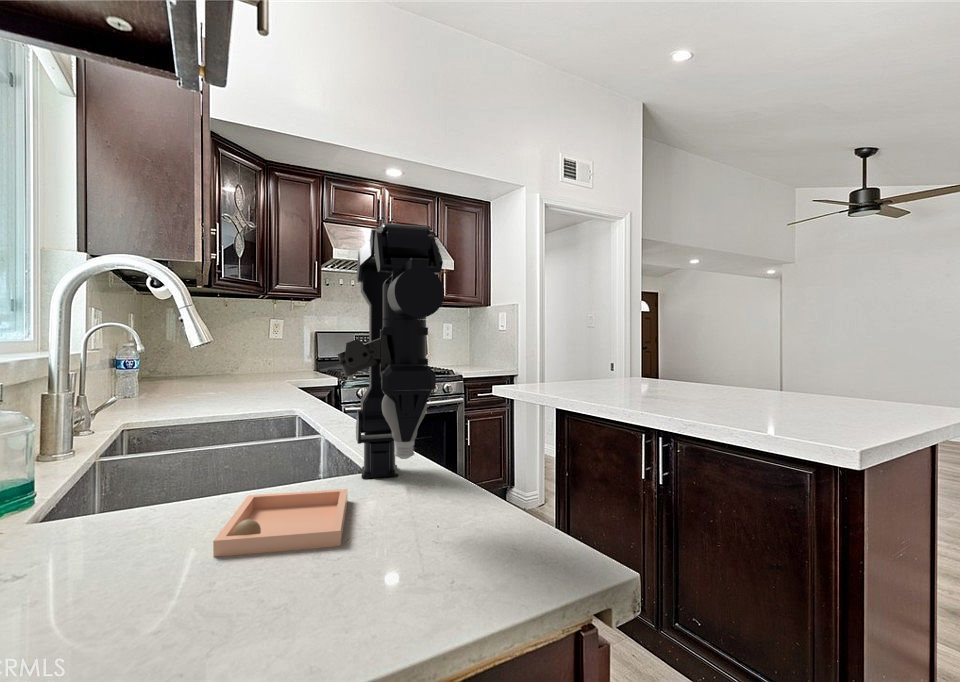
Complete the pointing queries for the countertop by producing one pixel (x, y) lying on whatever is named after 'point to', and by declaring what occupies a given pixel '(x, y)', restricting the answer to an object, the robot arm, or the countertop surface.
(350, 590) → the countertop surface
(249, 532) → the cork ball
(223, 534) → the dish
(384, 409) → the light bulb
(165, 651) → the countertop surface
